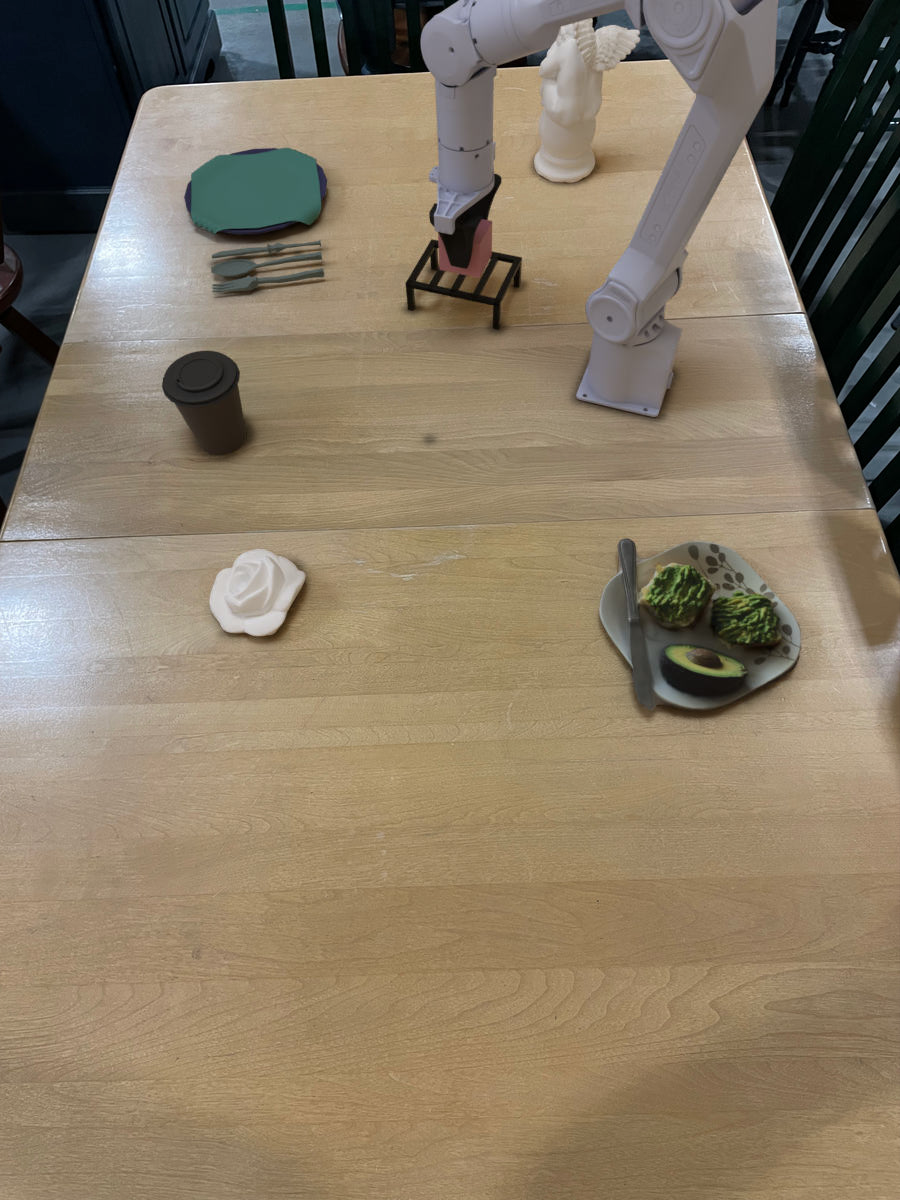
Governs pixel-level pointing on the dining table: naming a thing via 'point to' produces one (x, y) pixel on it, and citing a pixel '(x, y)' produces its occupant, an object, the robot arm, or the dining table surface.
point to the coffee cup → (208, 399)
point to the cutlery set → (257, 206)
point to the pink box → (479, 252)
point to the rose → (255, 593)
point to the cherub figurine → (576, 96)
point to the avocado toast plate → (697, 626)
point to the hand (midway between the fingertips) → (466, 252)
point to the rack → (454, 290)
